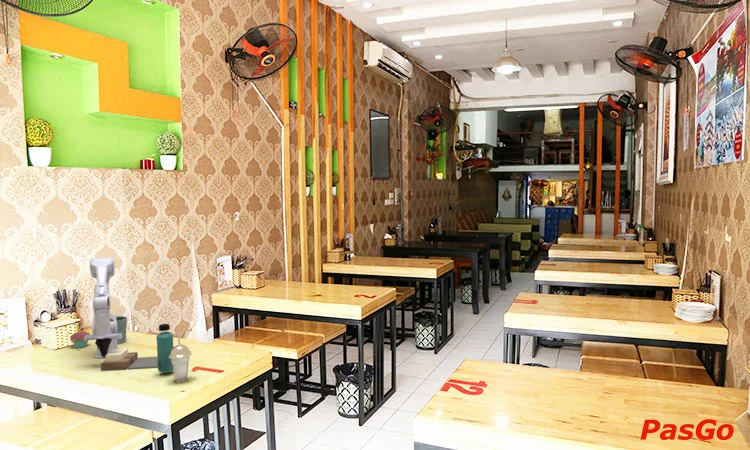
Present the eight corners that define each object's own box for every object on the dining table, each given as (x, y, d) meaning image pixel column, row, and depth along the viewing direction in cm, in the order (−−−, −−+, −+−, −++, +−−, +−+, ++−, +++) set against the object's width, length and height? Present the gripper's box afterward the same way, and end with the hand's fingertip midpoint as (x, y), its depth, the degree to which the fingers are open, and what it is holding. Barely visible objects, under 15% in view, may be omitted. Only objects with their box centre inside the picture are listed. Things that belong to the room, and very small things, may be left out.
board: (113, 360, 229) (113, 353, 229) (137, 358, 230) (137, 352, 230) (100, 370, 215) (100, 363, 215) (126, 369, 216) (126, 362, 216)
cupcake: (84, 349, 247) (83, 323, 246) (66, 349, 247) (65, 324, 246) (94, 343, 255) (93, 319, 254) (77, 344, 255) (75, 319, 254)
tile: (113, 355, 226) (112, 349, 226) (127, 354, 227) (127, 348, 226) (106, 361, 218) (105, 355, 218) (121, 360, 219) (120, 354, 218)
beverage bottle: (178, 371, 212) (176, 322, 211) (167, 377, 206) (165, 327, 205) (165, 370, 215) (163, 321, 213) (153, 375, 208) (151, 325, 207)
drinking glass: (108, 340, 260) (106, 316, 260) (130, 338, 263) (128, 315, 262) (102, 346, 250) (101, 321, 250) (125, 344, 253) (124, 319, 252)
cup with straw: (182, 374, 208) (180, 325, 207) (198, 378, 204) (196, 327, 202) (164, 381, 201) (162, 330, 200) (180, 385, 196) (178, 333, 195)
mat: (138, 358, 230) (138, 357, 230) (167, 357, 232) (167, 355, 231) (127, 369, 216) (127, 368, 216) (158, 367, 218) (158, 366, 218)
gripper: (80, 327, 216) (82, 360, 217) (117, 326, 218) (118, 358, 218) (87, 323, 223) (89, 354, 224) (123, 321, 225) (125, 353, 225)
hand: (104, 356), depth 222 cm, fingers closed
